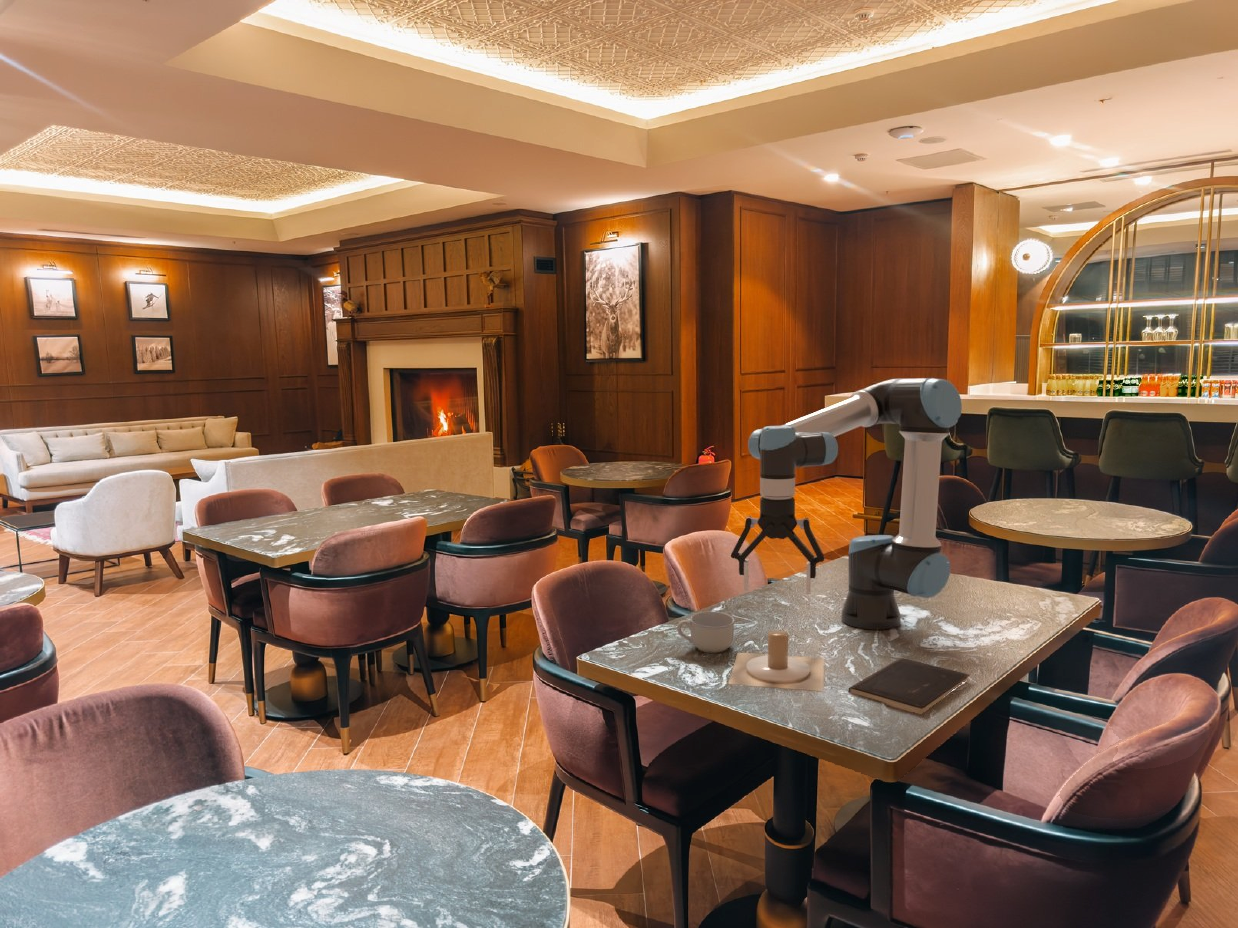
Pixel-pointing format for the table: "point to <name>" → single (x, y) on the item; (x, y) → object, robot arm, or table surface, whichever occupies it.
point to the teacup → (709, 631)
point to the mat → (810, 683)
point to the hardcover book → (909, 685)
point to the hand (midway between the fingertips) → (776, 590)
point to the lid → (778, 662)
